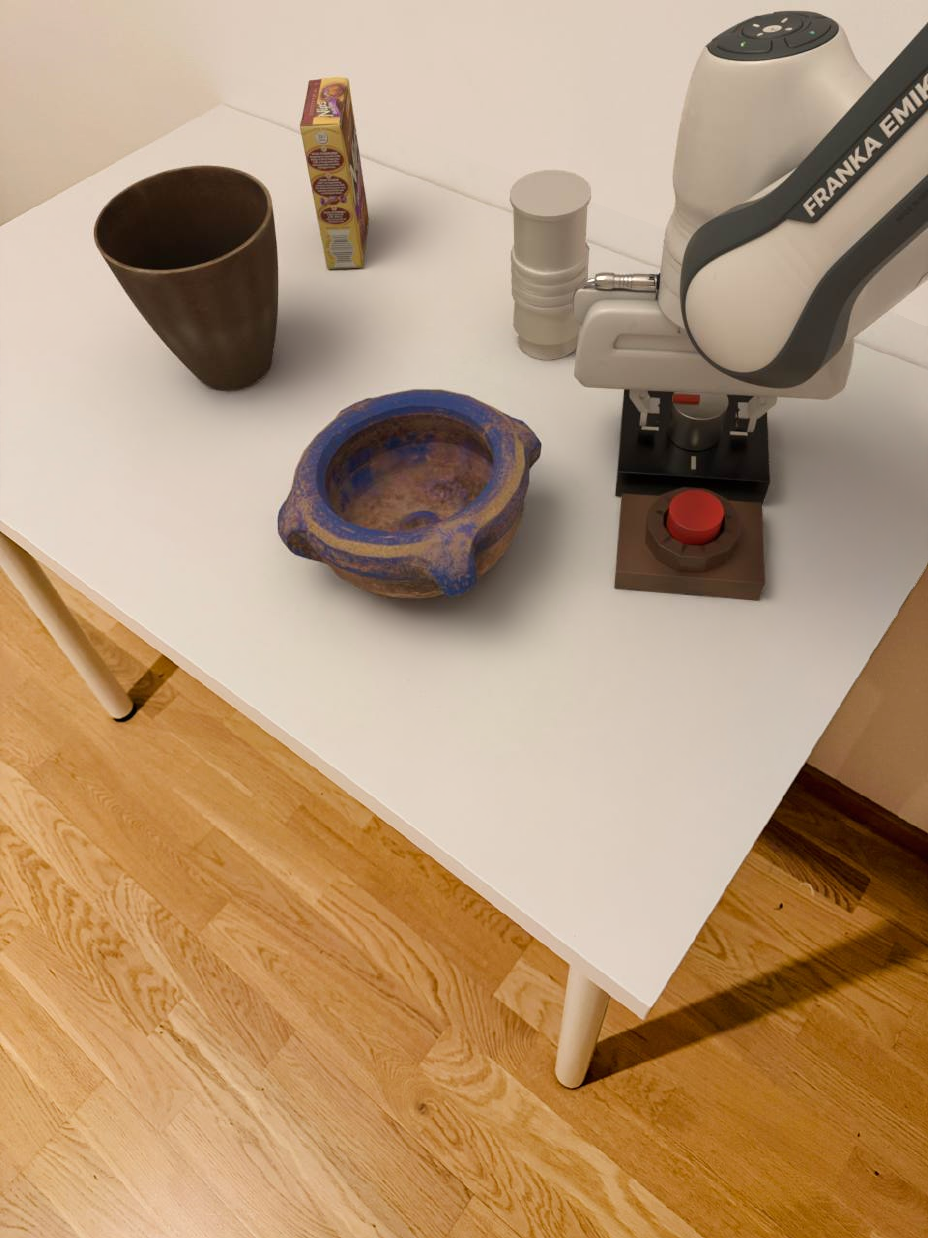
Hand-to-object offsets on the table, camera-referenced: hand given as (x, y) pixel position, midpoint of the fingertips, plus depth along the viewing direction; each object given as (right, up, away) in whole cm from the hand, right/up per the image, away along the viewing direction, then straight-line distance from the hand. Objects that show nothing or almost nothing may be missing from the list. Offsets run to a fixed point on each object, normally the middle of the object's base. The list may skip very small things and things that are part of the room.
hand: (695, 423), depth 74 cm
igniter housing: (-1, -11, -2) cm, 11 cm away
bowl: (-23, -10, 0) cm, 25 cm away
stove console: (0, -2, +3) cm, 4 cm away
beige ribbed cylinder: (-11, +11, +13) cm, 20 cm away
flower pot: (-41, +9, +14) cm, 45 cm away
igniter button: (-2, -9, -5) cm, 11 cm away
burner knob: (0, -1, +1) cm, 1 cm away
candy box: (-31, +24, +24) cm, 46 cm away
